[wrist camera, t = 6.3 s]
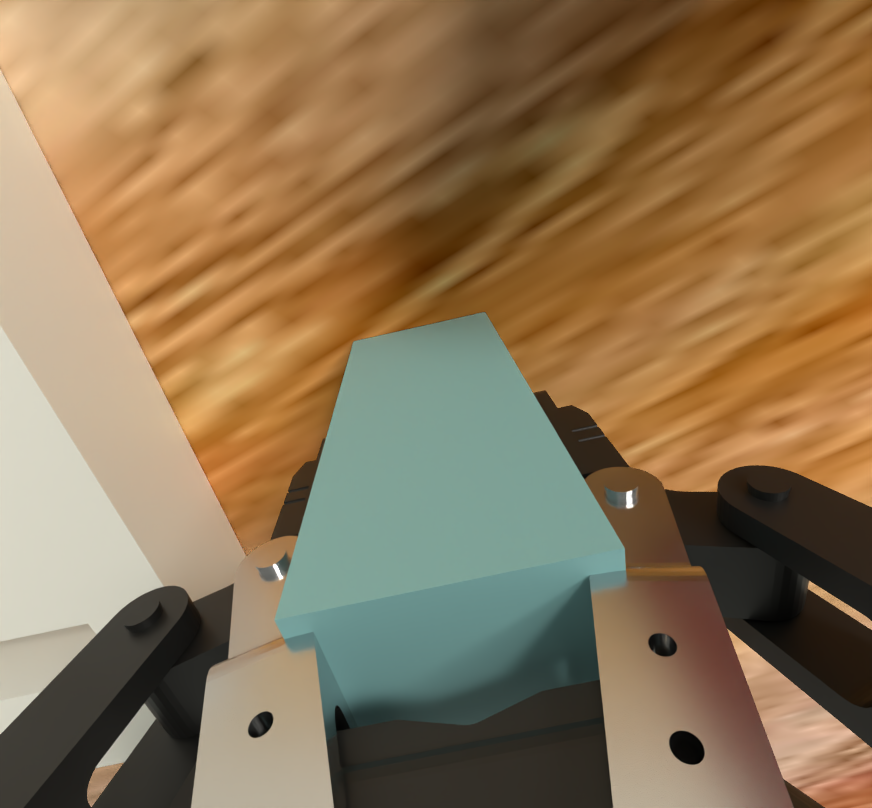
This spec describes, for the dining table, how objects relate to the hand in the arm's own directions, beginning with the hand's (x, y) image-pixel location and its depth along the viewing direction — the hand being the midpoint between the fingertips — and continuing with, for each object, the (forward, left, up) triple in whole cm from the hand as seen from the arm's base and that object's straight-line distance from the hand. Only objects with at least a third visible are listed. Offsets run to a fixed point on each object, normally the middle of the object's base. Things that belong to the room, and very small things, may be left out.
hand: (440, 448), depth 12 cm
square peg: (0, 0, -4) cm, 4 cm away
